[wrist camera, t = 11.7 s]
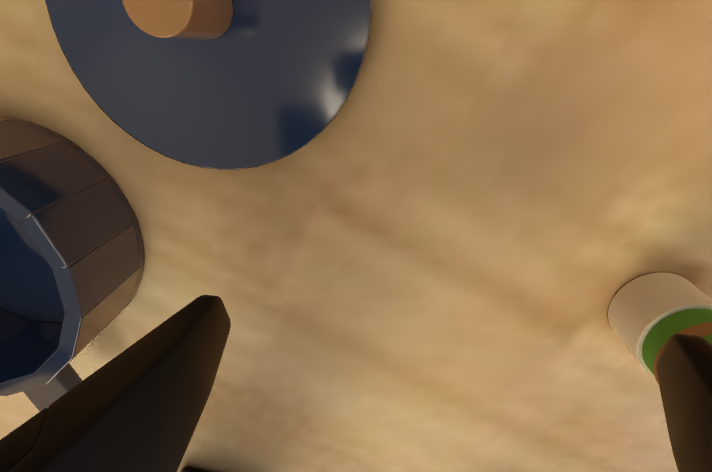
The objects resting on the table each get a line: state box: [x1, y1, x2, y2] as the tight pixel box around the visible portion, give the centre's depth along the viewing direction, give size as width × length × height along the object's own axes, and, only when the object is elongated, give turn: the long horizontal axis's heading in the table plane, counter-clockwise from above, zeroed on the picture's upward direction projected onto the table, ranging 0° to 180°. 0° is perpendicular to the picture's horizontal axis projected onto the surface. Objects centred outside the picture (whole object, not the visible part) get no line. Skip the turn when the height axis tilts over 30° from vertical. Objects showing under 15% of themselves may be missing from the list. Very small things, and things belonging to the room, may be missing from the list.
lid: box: [45, 0, 371, 170], centre depth 16 cm, size 14×14×5 cm
